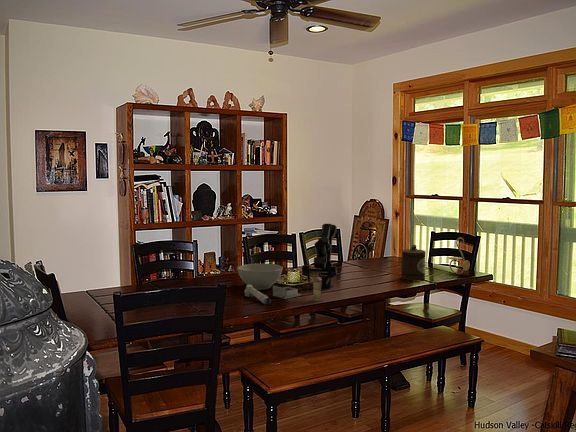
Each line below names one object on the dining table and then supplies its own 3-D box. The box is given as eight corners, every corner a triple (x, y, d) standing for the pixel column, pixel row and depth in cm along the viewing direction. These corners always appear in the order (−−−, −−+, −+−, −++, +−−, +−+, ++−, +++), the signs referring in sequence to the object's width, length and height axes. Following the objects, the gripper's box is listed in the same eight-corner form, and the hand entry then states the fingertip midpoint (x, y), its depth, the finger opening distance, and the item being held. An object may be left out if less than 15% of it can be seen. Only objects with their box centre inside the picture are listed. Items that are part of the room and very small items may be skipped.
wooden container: (424, 281, 317) (424, 246, 315) (400, 280, 322) (400, 245, 320) (425, 277, 331) (426, 243, 329) (402, 275, 336) (403, 242, 334)
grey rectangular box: (288, 292, 289) (288, 282, 288) (301, 295, 281) (301, 285, 281) (272, 295, 280) (272, 285, 280) (285, 299, 273) (285, 288, 273)
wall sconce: (470, 275, 338) (471, 237, 336) (461, 276, 333) (462, 238, 331) (453, 271, 349) (454, 235, 347) (444, 273, 344) (445, 236, 342)
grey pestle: (263, 298, 260) (243, 282, 281) (262, 310, 261) (242, 294, 282) (272, 297, 262) (251, 281, 284) (271, 309, 264) (250, 292, 285)
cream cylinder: (315, 298, 273) (315, 276, 272) (322, 299, 271) (322, 277, 270) (311, 300, 270) (311, 278, 269) (318, 301, 268) (318, 279, 267)
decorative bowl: (291, 285, 306) (291, 265, 305) (266, 294, 283) (266, 273, 282) (254, 281, 320) (254, 262, 319) (228, 289, 297) (228, 268, 296)
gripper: (302, 250, 277) (298, 274, 267) (336, 251, 273) (333, 275, 263) (305, 262, 285) (301, 285, 275) (338, 263, 281) (335, 287, 271)
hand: (317, 283), depth 271 cm, fingers open, 9 cm apart
